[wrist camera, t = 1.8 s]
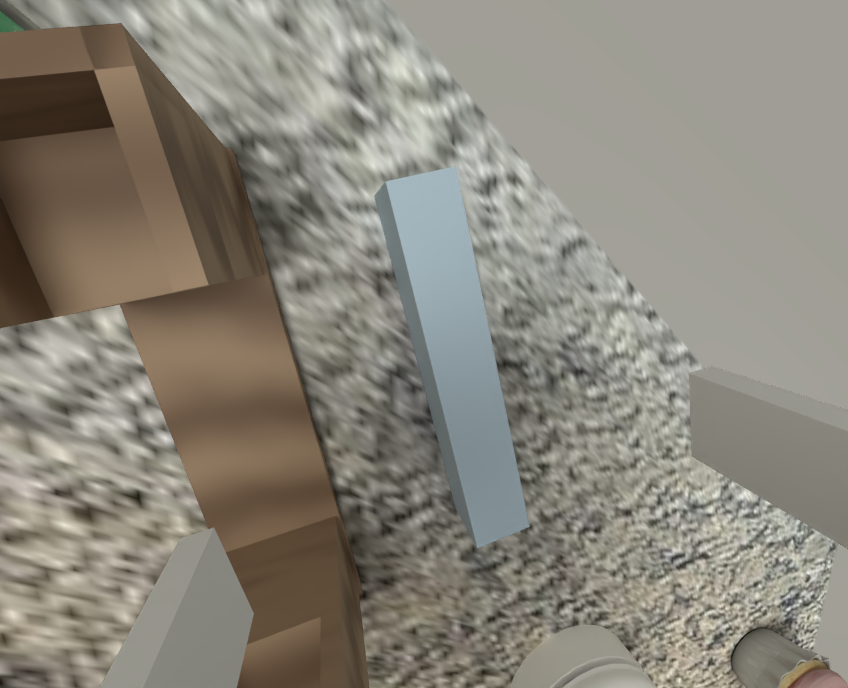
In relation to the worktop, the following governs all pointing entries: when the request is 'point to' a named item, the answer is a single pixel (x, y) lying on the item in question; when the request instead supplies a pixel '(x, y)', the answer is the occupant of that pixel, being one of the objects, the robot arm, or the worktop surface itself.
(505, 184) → the worktop surface
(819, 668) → the cupcake
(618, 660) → the honey pot
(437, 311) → the rail
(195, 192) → the bracket
